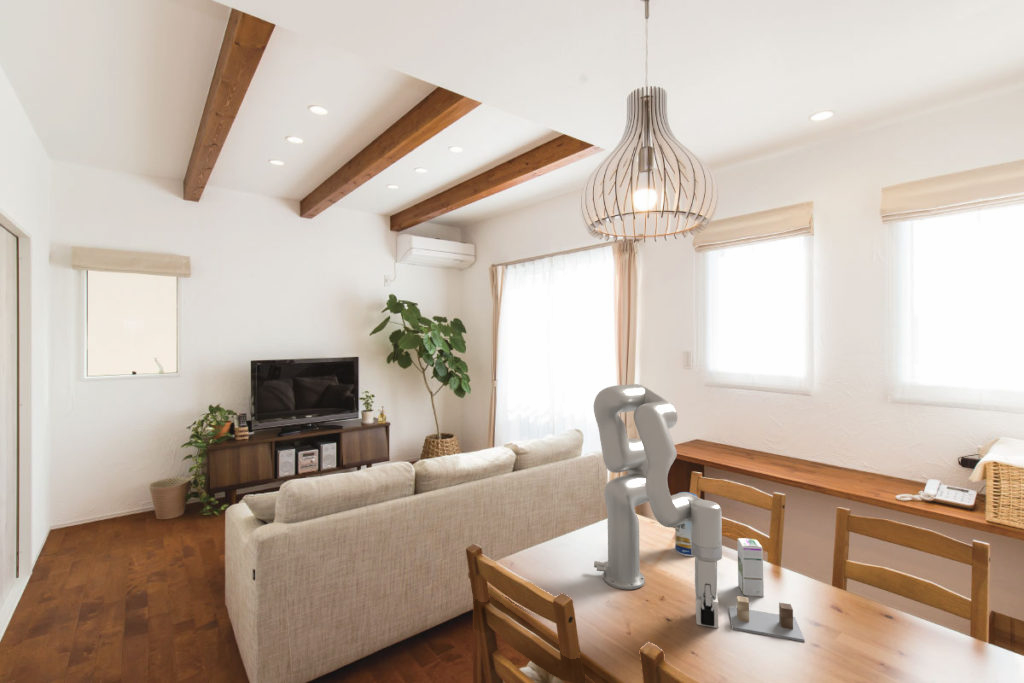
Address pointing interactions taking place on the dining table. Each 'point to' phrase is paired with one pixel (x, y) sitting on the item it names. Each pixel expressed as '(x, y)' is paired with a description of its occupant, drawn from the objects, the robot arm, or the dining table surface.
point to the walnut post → (786, 615)
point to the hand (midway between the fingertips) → (706, 617)
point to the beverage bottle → (683, 538)
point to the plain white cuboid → (698, 611)
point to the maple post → (743, 608)
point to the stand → (765, 625)
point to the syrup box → (750, 567)
